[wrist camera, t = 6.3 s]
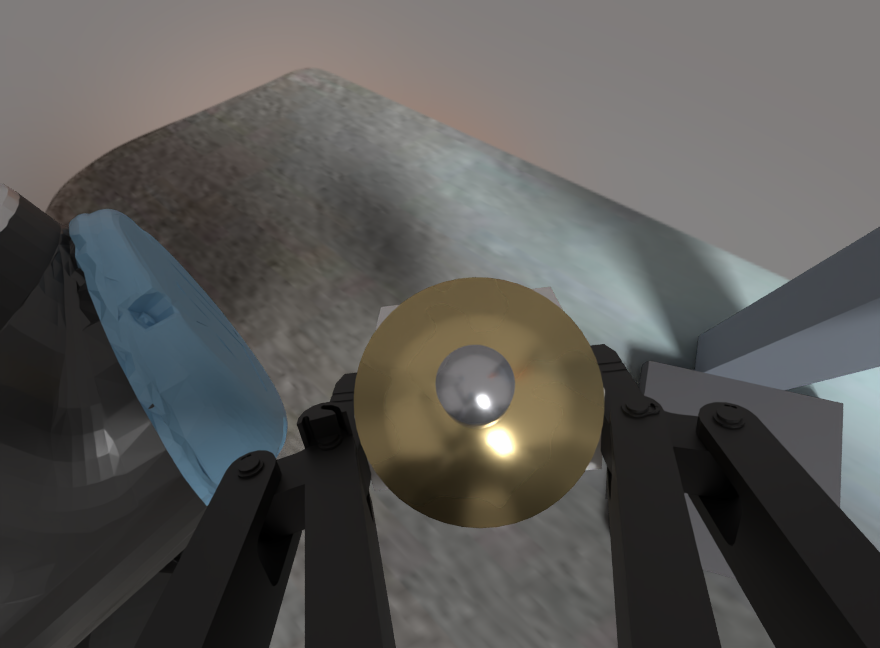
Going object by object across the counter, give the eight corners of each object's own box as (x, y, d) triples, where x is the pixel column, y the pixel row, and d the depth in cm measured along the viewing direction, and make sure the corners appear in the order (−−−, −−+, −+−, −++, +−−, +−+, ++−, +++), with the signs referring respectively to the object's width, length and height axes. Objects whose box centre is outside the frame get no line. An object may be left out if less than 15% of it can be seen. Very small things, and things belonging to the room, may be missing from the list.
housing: (411, 475, 21) (298, 490, 8) (440, 366, 22) (380, 231, 9) (524, 506, 20) (595, 577, 7) (547, 391, 21) (640, 282, 9)
